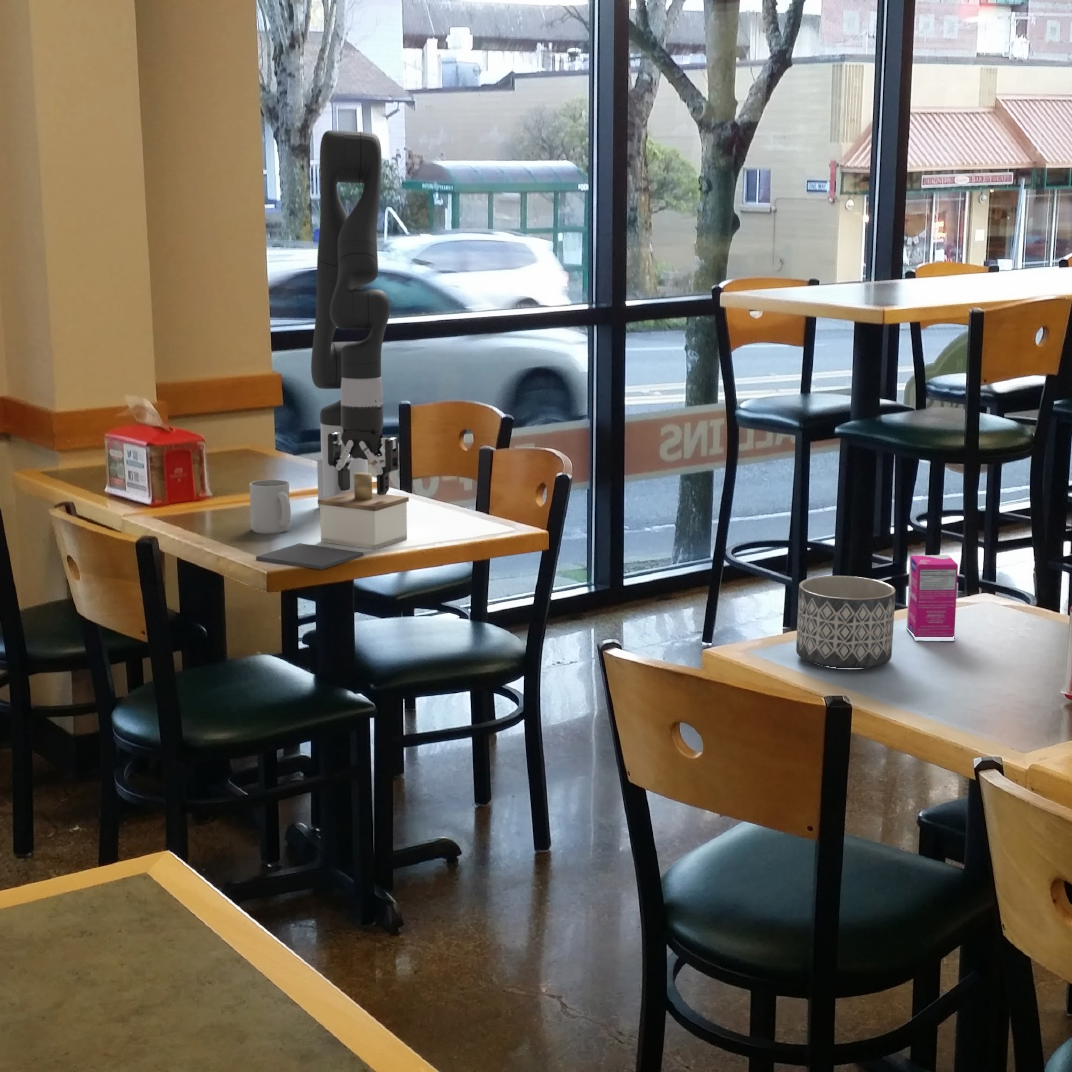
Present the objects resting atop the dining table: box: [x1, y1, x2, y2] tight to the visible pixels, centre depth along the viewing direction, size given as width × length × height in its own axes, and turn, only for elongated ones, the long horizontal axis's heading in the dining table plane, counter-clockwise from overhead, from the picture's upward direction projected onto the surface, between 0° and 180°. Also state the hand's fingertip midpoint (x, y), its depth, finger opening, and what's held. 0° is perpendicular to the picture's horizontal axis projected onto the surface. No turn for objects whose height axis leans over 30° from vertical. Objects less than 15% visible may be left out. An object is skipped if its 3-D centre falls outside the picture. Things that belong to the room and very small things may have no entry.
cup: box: [249, 479, 292, 535], centre depth 281 cm, size 7×10×9 cm
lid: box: [317, 472, 410, 511], centre depth 273 cm, size 13×11×5 cm
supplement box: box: [906, 554, 959, 637], centre depth 215 cm, size 6×6×12 cm
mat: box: [255, 542, 365, 570], centre depth 261 cm, size 14×12×1 cm
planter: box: [795, 575, 896, 669], centre depth 203 cm, size 13×13×10 cm
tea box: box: [319, 502, 408, 550], centre depth 274 cm, size 12×10×7 cm
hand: (363, 492), depth 273 cm, fingers open, 7 cm apart
